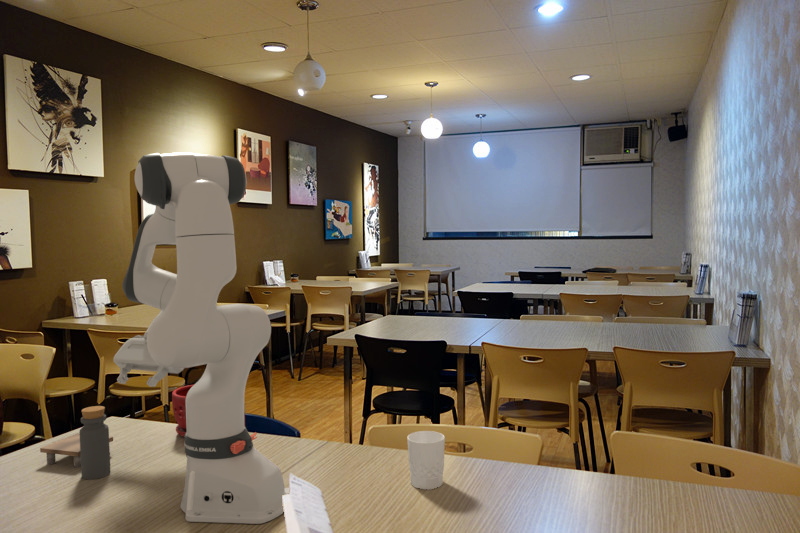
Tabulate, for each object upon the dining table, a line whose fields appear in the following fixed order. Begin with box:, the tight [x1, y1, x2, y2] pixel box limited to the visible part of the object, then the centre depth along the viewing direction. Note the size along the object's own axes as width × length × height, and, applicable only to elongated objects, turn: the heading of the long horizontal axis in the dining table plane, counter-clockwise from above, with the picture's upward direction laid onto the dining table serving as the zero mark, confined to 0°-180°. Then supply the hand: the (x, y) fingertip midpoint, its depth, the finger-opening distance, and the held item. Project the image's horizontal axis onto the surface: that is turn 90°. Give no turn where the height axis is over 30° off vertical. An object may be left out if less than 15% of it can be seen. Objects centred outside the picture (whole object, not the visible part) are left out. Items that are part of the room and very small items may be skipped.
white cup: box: [406, 430, 446, 490], centre depth 129 cm, size 8×8×10 cm
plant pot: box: [171, 384, 194, 438], centre depth 166 cm, size 13×13×12 cm
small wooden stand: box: [39, 432, 114, 469], centre depth 148 cm, size 11×11×4 cm
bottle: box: [79, 405, 111, 480], centre depth 137 cm, size 6×6×15 cm
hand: (135, 383), depth 148 cm, fingers open, 8 cm apart
